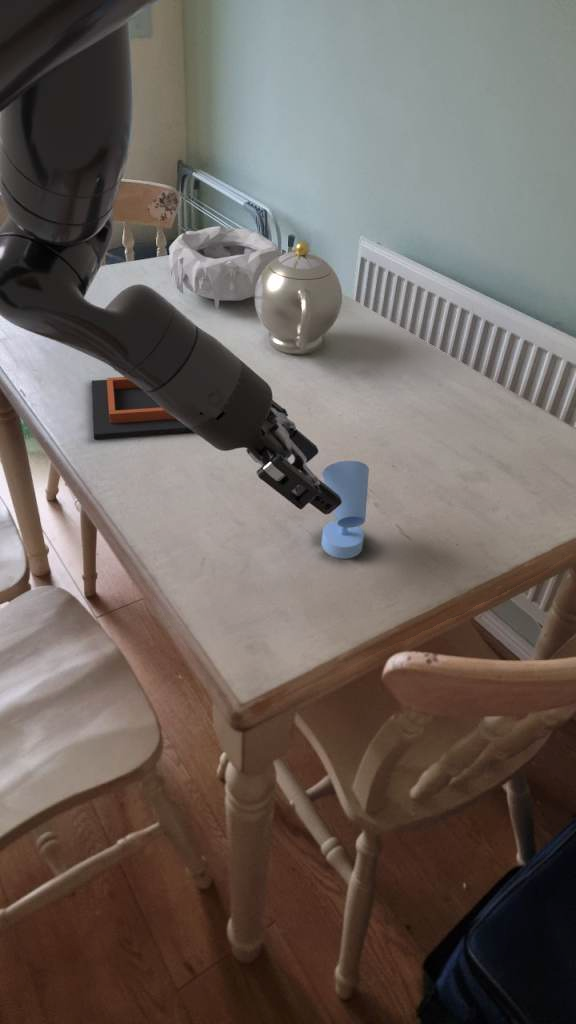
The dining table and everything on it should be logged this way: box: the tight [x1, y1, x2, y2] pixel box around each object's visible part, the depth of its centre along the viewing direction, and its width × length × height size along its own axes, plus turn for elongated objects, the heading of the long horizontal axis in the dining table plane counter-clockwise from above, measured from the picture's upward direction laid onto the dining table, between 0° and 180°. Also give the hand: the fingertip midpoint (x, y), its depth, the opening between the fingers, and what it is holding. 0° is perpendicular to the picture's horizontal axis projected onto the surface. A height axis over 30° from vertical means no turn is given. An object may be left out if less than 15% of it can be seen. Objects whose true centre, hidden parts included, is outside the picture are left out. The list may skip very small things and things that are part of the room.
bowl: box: [168, 225, 283, 309], centre depth 123 cm, size 21×20×10 cm
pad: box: [91, 376, 194, 440], centre depth 95 cm, size 16×14×2 cm
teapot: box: [254, 241, 343, 355], centre depth 107 cm, size 18×14×16 cm
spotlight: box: [320, 460, 370, 560], centre depth 73 cm, size 5×10×7 cm
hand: (322, 480), depth 70 cm, fingers open, 8 cm apart
